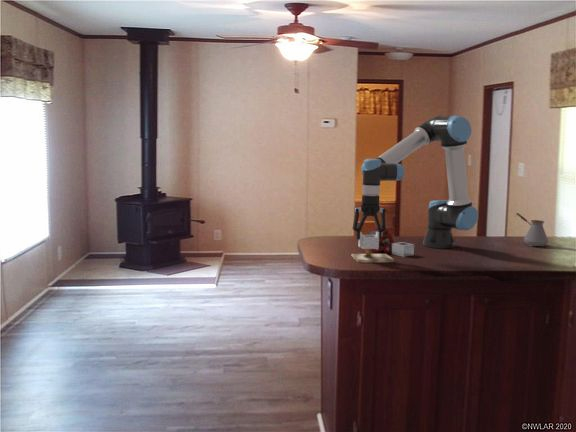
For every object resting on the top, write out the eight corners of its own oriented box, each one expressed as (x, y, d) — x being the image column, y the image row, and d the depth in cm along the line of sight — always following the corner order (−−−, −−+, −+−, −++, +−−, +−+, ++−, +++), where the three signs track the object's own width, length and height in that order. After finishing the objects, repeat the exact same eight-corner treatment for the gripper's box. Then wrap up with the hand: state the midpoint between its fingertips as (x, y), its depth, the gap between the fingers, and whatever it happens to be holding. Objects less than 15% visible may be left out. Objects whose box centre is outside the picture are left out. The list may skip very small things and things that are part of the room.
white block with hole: (401, 252, 279) (402, 242, 278) (413, 255, 274) (414, 244, 273) (391, 254, 275) (392, 243, 274) (403, 256, 269) (404, 246, 269)
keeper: (385, 256, 269) (386, 238, 268) (394, 262, 258) (395, 243, 257) (351, 256, 267) (351, 238, 266) (358, 262, 255) (358, 243, 254)
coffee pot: (552, 247, 302) (555, 218, 299) (534, 248, 298) (537, 218, 295) (522, 239, 321) (524, 212, 319) (505, 240, 317) (507, 212, 315)
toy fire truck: (395, 253, 277) (396, 231, 276) (369, 253, 276) (370, 231, 274) (391, 250, 284) (392, 228, 283) (365, 250, 283) (366, 228, 281)
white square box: (373, 245, 265) (374, 234, 264) (378, 248, 258) (379, 237, 258) (358, 245, 264) (359, 234, 263) (362, 248, 257) (363, 237, 256)
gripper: (390, 194, 263) (387, 245, 266) (346, 193, 260) (344, 245, 264) (395, 195, 256) (392, 248, 259) (350, 195, 253) (348, 248, 256)
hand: (368, 246), depth 261 cm, fingers closed on white square box, 7 cm apart
